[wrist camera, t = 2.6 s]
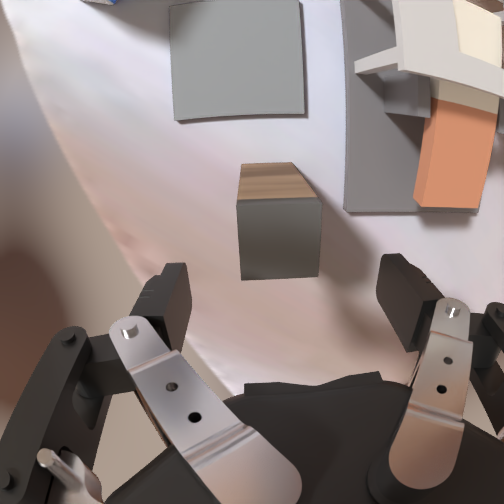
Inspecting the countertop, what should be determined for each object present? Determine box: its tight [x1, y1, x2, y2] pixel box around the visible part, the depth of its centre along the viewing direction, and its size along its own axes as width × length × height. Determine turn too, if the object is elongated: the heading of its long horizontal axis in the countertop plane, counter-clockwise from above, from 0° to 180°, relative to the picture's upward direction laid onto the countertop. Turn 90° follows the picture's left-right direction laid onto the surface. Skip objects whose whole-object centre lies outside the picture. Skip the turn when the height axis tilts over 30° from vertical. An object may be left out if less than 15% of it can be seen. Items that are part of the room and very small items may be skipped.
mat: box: [169, 0, 304, 121], centre depth 20 cm, size 10×10×1 cm
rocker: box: [413, 0, 502, 208], centre depth 16 cm, size 16×6×2 cm, turn 2°
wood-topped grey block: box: [236, 162, 322, 281], centre depth 20 cm, size 4×4×11 cm
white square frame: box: [340, 0, 504, 213], centre depth 17 cm, size 20×15×9 cm
